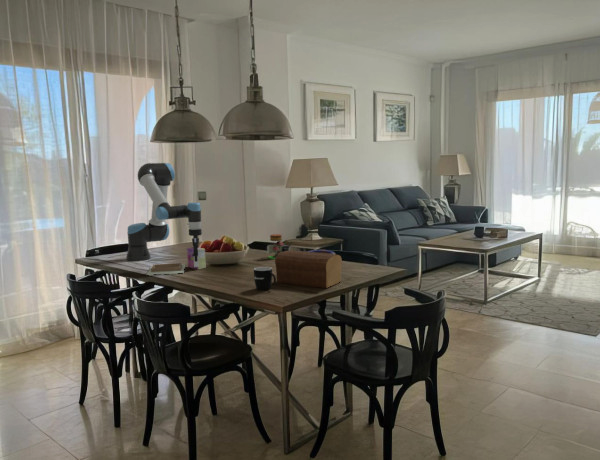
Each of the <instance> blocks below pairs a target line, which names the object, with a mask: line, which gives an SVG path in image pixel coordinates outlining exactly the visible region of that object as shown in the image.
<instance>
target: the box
mask: <svg viewBox="0 0 600 460" xmlns="http://www.w3.org/2000/svg"><path fill="white" fill-rule="evenodd" d="M186 253H187V254H186V255H187V266H188V268H189V267H190V268H191V269H194V270H195V269H196V270H201V269H206V268H207V266H206V263H207V262H206V249H205V248H204V247H203V248H202V247H198V261H199V267H194V256H192V255H193V254H194V252H193V246H192V247H187V248H186Z"/></svg>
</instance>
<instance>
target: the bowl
mask: <svg viewBox="0 0 600 460" xmlns="http://www.w3.org/2000/svg"><path fill="white" fill-rule="evenodd" d="M307 252H315V253H328V254H336V252H334V251H332V250H330V249H329V250H328V249H312V250H308V251H307Z"/></svg>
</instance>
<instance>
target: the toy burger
mask: <svg viewBox="0 0 600 460" xmlns="http://www.w3.org/2000/svg"><path fill="white" fill-rule="evenodd" d="M269 236H270V239H269V240H270V242H271V241H272V242H276V243H275V244H268V245H267V246H266V252H267V253H266V254H267V255H269V254H274V255H270V256H268V259H271V260H275V258H276V256H277V255H278V254H280V253H281V252H283V247H284V246H285V245H284V243H283V242H282V240H283V239H282V238H283V236H282V234H280V233H279V234H277V233H276V234H275V233H274V234H270V235H269Z"/></svg>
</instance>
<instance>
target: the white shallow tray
mask: <svg viewBox="0 0 600 460" xmlns="http://www.w3.org/2000/svg"><path fill="white" fill-rule="evenodd" d="M184 269H186V264H182V262H179V263H177V262H176V263H158V264H157V263H156V264H152V265H151V266H150V267H149V270H148V271H147V272H146V276H147V275H149V276H154V275H153V274H169V275H178V274H177V273H183V274H184V273H185V270H184Z"/></svg>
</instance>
